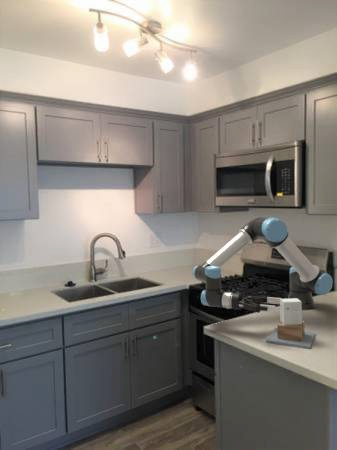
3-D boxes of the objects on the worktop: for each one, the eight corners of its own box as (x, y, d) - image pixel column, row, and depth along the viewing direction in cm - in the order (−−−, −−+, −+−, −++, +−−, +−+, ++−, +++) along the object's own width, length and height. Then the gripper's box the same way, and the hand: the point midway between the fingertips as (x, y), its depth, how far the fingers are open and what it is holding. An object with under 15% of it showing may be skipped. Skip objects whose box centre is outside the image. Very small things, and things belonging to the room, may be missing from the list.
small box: (297, 320, 171) (297, 298, 170) (302, 325, 165) (302, 301, 165) (279, 321, 171) (279, 298, 170) (283, 325, 165) (283, 301, 165)
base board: (275, 329, 181) (275, 327, 181) (315, 334, 173) (315, 332, 172) (266, 342, 165) (266, 340, 165) (309, 348, 157) (309, 346, 157)
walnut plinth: (281, 331, 175) (281, 318, 175) (304, 334, 171) (304, 321, 170) (277, 338, 167) (277, 325, 166) (301, 341, 162) (301, 328, 162)
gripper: (240, 301, 191) (283, 306, 181) (224, 315, 169) (272, 321, 159) (240, 287, 191) (283, 290, 181) (224, 299, 168) (272, 304, 159)
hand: (278, 305), depth 170 cm, fingers open, 13 cm apart
